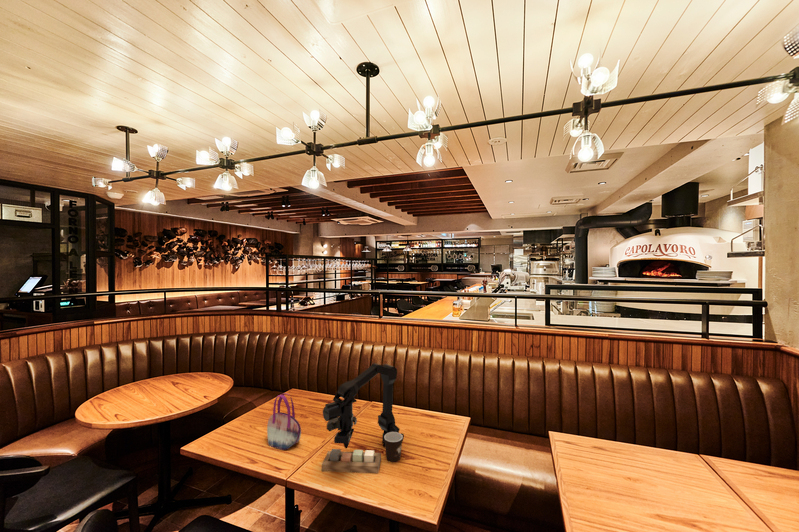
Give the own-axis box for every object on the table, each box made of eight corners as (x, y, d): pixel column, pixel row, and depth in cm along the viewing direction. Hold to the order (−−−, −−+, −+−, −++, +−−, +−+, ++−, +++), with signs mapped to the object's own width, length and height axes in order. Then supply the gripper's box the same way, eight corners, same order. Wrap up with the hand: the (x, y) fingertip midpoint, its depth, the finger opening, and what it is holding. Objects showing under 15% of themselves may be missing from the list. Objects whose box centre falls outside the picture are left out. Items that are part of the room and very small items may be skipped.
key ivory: (374, 459, 142) (374, 450, 142) (373, 464, 138) (373, 455, 138) (365, 458, 143) (365, 450, 143) (364, 464, 139) (364, 455, 139)
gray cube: (340, 457, 143) (340, 449, 143) (338, 463, 139) (338, 454, 139) (332, 457, 144) (332, 448, 144) (329, 463, 140) (329, 454, 140)
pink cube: (351, 461, 143) (351, 452, 143) (349, 467, 139) (349, 458, 139) (343, 461, 143) (343, 452, 143) (341, 466, 139) (341, 458, 139)
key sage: (363, 458, 143) (363, 450, 143) (361, 464, 139) (361, 455, 139) (354, 458, 143) (354, 449, 143) (352, 463, 139) (352, 455, 139)
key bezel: (381, 459, 145) (380, 452, 145) (378, 473, 135) (378, 466, 135) (328, 457, 147) (328, 451, 147) (321, 471, 137) (321, 464, 137)
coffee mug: (389, 466, 140) (389, 443, 140) (381, 455, 148) (381, 434, 148) (411, 458, 146) (411, 437, 146) (402, 449, 153) (402, 428, 153)
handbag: (260, 443, 158) (260, 394, 158) (275, 433, 167) (275, 387, 167) (292, 453, 150) (292, 401, 149) (306, 443, 159) (306, 394, 159)
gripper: (334, 403, 151) (334, 436, 151) (322, 423, 132) (322, 460, 132) (356, 404, 150) (356, 436, 150) (348, 424, 132) (348, 461, 132)
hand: (346, 447), depth 141 cm, fingers closed
